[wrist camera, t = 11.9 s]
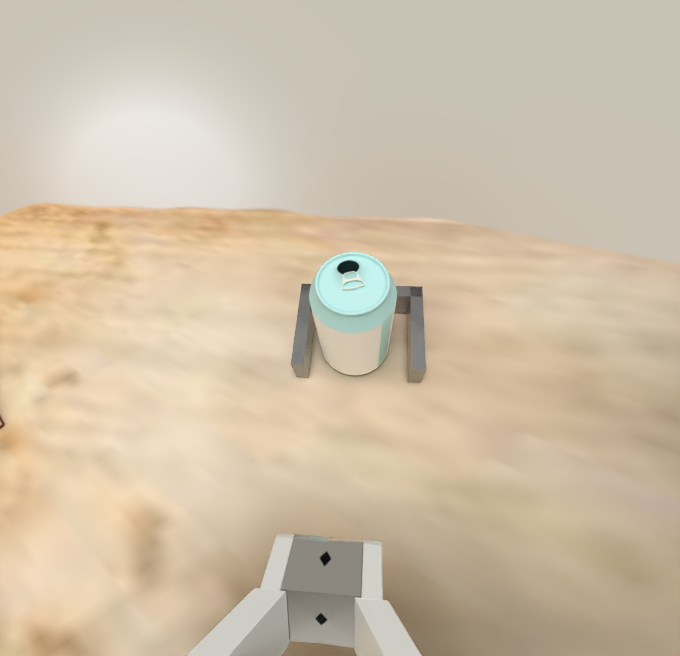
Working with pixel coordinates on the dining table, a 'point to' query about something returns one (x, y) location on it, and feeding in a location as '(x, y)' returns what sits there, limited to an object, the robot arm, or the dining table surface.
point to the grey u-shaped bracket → (405, 303)
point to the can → (353, 311)
